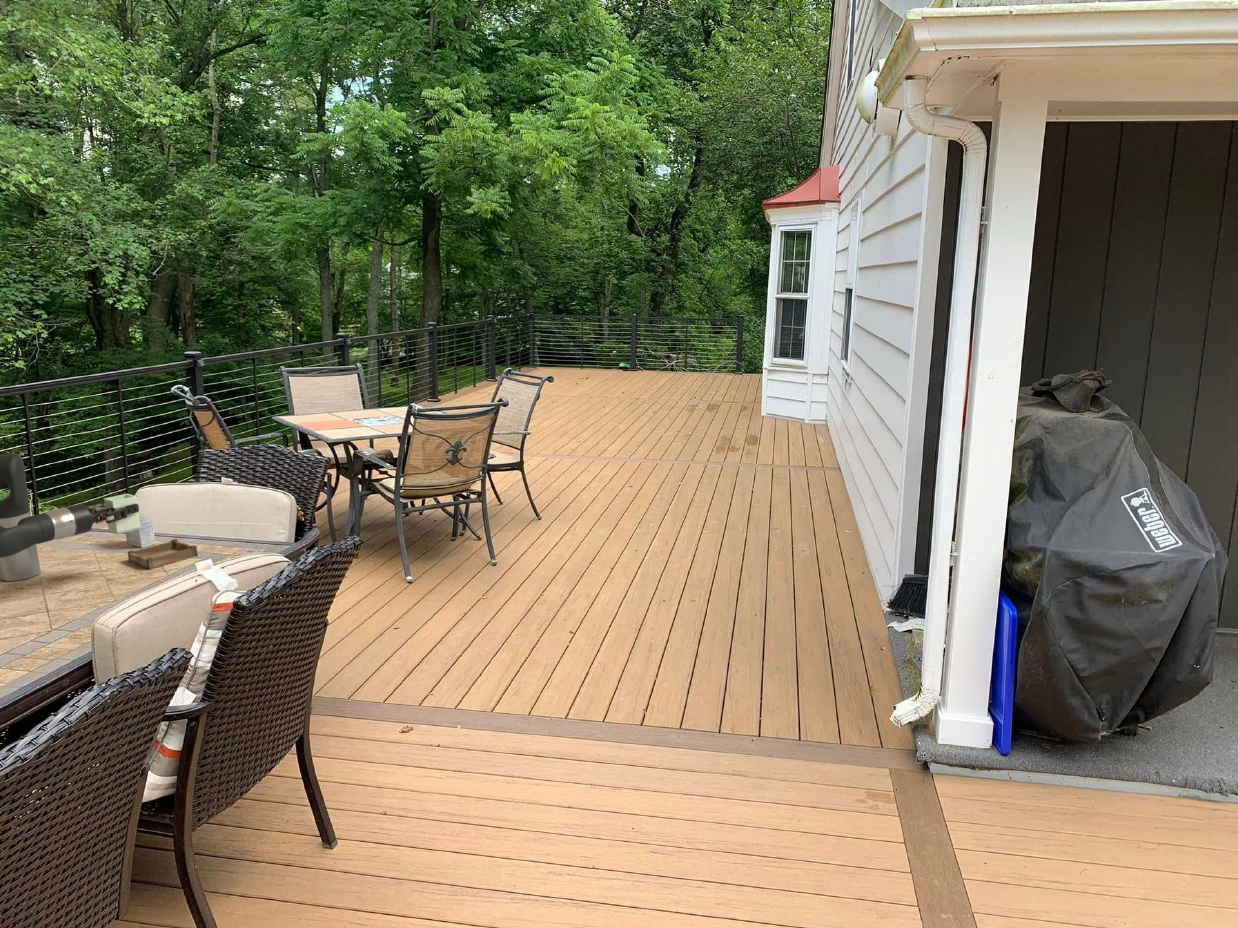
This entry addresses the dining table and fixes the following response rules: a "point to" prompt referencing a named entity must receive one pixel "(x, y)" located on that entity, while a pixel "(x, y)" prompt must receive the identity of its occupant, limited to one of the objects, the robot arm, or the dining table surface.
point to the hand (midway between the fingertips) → (131, 506)
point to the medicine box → (142, 533)
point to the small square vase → (132, 519)
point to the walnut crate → (162, 554)
